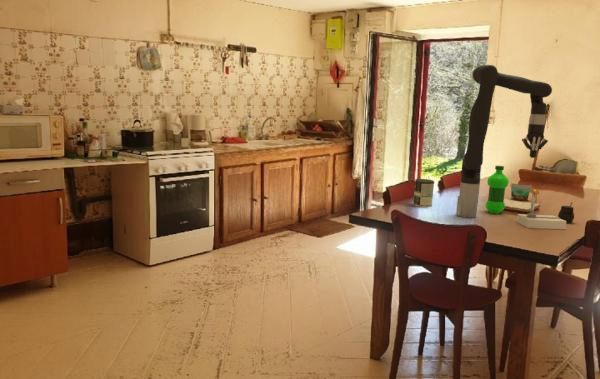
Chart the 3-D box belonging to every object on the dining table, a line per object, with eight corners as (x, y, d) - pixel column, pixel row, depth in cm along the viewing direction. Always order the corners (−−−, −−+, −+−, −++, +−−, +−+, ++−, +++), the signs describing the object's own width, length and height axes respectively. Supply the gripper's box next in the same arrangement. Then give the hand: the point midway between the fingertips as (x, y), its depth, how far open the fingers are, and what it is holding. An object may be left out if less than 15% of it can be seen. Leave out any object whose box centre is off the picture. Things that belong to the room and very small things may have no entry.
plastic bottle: (506, 212, 279) (511, 166, 274) (502, 215, 270) (508, 168, 266) (486, 209, 284) (491, 164, 279) (482, 212, 275) (487, 166, 270)
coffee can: (410, 205, 285) (412, 180, 283) (416, 202, 294) (418, 178, 291) (428, 208, 280) (431, 182, 277) (434, 205, 289) (436, 180, 286)
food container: (510, 200, 314) (512, 184, 313) (508, 198, 320) (510, 182, 319) (531, 202, 312) (533, 186, 310) (529, 200, 318) (532, 184, 316)
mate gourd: (555, 221, 262) (557, 202, 260) (560, 219, 267) (563, 200, 265) (570, 224, 257) (573, 204, 255) (575, 222, 262) (578, 203, 260)
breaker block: (527, 227, 244) (528, 219, 244) (516, 221, 256) (517, 213, 256) (565, 229, 245) (566, 221, 244) (552, 223, 257) (553, 215, 256)
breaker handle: (530, 217, 247) (533, 190, 245) (526, 215, 252) (529, 188, 249) (536, 217, 248) (540, 190, 245) (532, 215, 252) (535, 188, 250)
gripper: (546, 123, 265) (541, 157, 268) (520, 122, 264) (516, 156, 267) (553, 124, 257) (549, 159, 260) (527, 123, 257) (523, 157, 260)
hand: (532, 157), depth 264 cm, fingers closed
